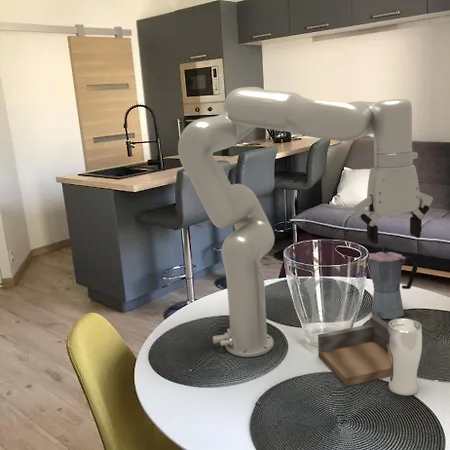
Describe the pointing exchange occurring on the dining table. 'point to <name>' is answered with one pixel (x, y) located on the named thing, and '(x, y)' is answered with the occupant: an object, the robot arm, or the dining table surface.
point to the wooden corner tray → (357, 352)
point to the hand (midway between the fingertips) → (394, 239)
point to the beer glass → (404, 355)
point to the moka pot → (388, 282)
